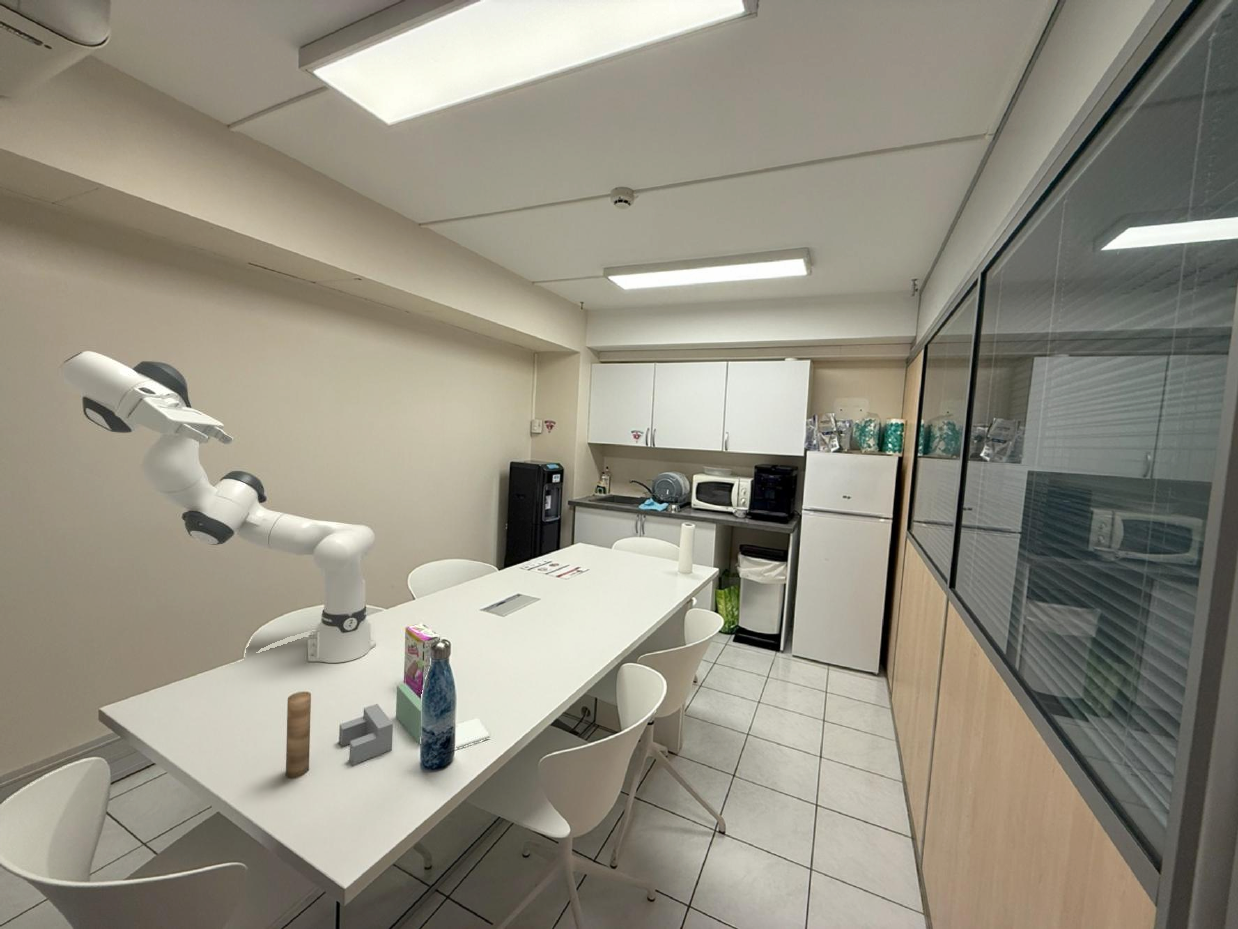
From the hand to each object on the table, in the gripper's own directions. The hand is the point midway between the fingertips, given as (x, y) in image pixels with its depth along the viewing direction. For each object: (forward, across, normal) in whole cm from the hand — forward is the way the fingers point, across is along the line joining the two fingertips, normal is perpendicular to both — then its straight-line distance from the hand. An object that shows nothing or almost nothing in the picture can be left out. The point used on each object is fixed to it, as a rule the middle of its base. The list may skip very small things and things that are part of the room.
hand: (219, 441), depth 106 cm
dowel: (+52, +12, -48) cm, 72 cm away
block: (+62, +6, -42) cm, 75 cm away
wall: (+69, +1, -37) cm, 79 cm away
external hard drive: (+80, +6, -33) cm, 86 cm away
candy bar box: (+69, -18, -37) cm, 80 cm away
